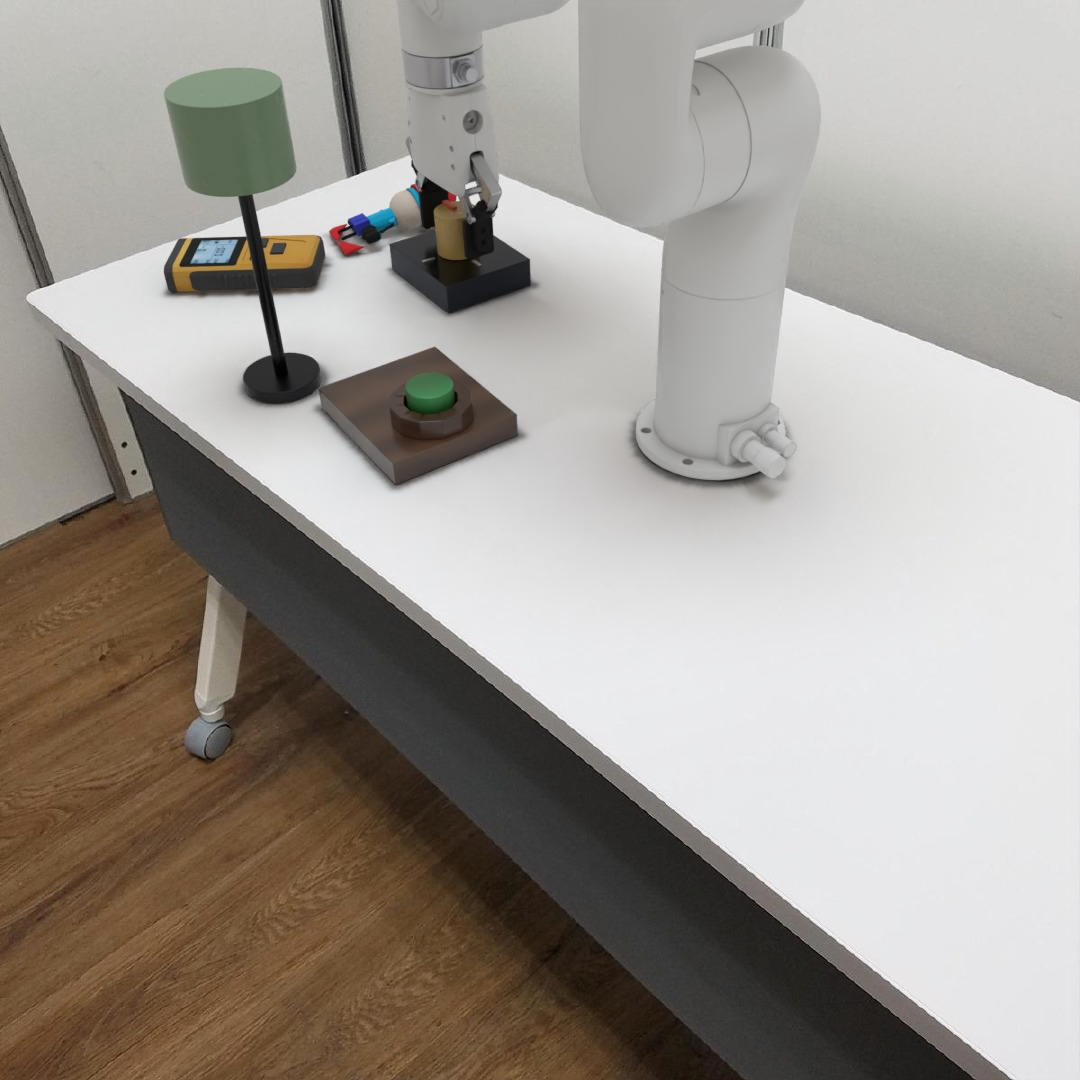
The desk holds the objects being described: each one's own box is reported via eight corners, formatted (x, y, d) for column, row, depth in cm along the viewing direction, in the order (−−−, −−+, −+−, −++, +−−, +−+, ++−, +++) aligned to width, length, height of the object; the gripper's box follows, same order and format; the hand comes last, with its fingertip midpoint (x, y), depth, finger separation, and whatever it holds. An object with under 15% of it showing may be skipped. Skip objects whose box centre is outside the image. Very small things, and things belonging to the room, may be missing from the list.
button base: (518, 435, 98) (516, 396, 95) (395, 485, 93) (390, 445, 90) (437, 366, 107) (433, 328, 104) (321, 408, 102) (314, 370, 99)
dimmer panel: (531, 285, 119) (530, 257, 117) (448, 313, 114) (446, 285, 112) (471, 244, 126) (469, 217, 124) (392, 269, 122) (388, 242, 120)
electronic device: (317, 295, 119) (312, 265, 117) (168, 297, 119) (160, 268, 117) (328, 257, 125) (323, 228, 123) (186, 259, 125) (179, 231, 123)
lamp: (348, 388, 104) (300, 89, 87) (257, 421, 101) (188, 116, 83) (307, 347, 110) (254, 59, 93) (219, 377, 106) (147, 83, 89)
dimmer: (487, 252, 118) (484, 208, 115) (451, 264, 116) (447, 220, 113) (465, 237, 121) (462, 194, 118) (429, 249, 119) (425, 205, 116)
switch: (463, 405, 95) (462, 387, 94) (422, 421, 94) (420, 403, 92) (439, 384, 98) (438, 367, 97) (398, 400, 96) (396, 382, 95)
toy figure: (352, 271, 125) (472, 220, 128) (337, 230, 122) (461, 179, 125) (332, 249, 131) (447, 201, 134) (317, 210, 128) (436, 161, 131)
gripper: (528, 82, 102) (534, 260, 114) (432, 35, 113) (446, 202, 125) (456, 100, 99) (470, 282, 110) (365, 50, 110) (385, 220, 122)
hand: (457, 239), depth 118 cm, fingers open, 8 cm apart
